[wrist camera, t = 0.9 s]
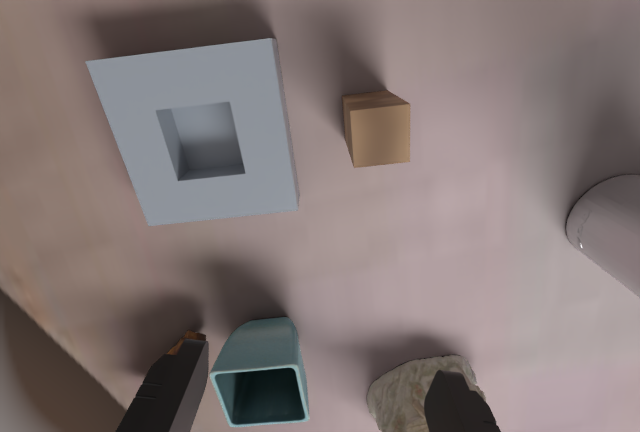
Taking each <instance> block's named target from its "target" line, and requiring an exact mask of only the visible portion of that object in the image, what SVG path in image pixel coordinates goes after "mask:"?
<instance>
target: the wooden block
mask: <svg viewBox="0 0 640 432" xmlns="http://www.w3.org/2000/svg"><path fill="white" fill-rule="evenodd" d="M342 103H343V116H344V129H345V141H346V144H347V147H348V150H349V154H350V157H351V160H352V163H353V166H354V168H357V167H367V166H376V165H385V164H394V163H403V162H410V104H409V103H408V102H406V101H404V100H403V99H401V98H399V97H398V96H396V95H394V94H393V93H391V92H389V91H388V90H386V91H378V92H369V93H361V94H352V95H344V96H342Z"/></svg>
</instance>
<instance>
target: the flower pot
mask: <svg viewBox="0 0 640 432" xmlns="http://www.w3.org/2000/svg"><path fill="white" fill-rule="evenodd" d="M209 376H210V379H211V381H212V384H213V386H214V389H215V391H216V394H217V397H218V399H219V401H220V404H221V407H222V409H223V412H224V415H225V417H226V420H227V423H228V424H229V426H231V427H245V426H246V427H247V426H255V425H268V424H282V423H296V422H305V421H308V420H309V406H308V393H307V381H306V374H305V369H304V365H303V360H302V356H301V351H300V346H299V340H298V335H297V330H296V327H295V325H294V323H293V322H292V321H291V320H290V319H289V318H288V317H280V318H272V319H261V320H251V321H249V322H247V323H245V324H243V325H241V326H240V327H238V328H237V329H236V330H235V331H234V332H233V333H232V334H231V335H230V336H229V338H228V339H227V341H226V342H225V344H224V346H223V348H222V350H221V352H220V354H219V356H218V358H217V360H216V362H215V364H214V366H213V368H212V370H211V372H210V374H209Z"/></svg>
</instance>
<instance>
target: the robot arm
mask: <svg viewBox="0 0 640 432" xmlns="http://www.w3.org/2000/svg"><path fill="white" fill-rule="evenodd" d="M566 231H567V237H568V239H569V241H570V243H571V244H572V245H573V246H574V247H575V248H576V249H577V250H579V251H580V252H581V253H583V254H584V255H585V256H587V257H588V258H589V259H590V260H592V261H593V262H594V263H596V264H597V265H598V266H599V267H601V268H602V269H603V270H604V271H606V272H607V273H608V274H610V275H611V276H612V277H614V278H615V279H616V280H617V281H619V282H620V283H621V284H623V285H624V286H625V287H627V288H628V289H629V290H630V291H632V292H633V293H634V294H636V295H637V296H638V297H639V298H640V175H621V176H617V177H613V178H610V179H608V180H606V181H603V182H601V183H599V184H598V185H596V186H594V187H593V188H591V189H590V190H589V191H588V192H586V193H585V194H584V195H583V196H582V197H581V198H580V199H579V200H578V202H577V203H576V204H575V205H574V207H573V209H572V210H571V212H570V215H569V217H568V220H567V226H566ZM208 350H209V344H208V341H200V340H192V339H185V340H184V341H183V343H182V345H181V347H180V349H179V351H178V353H177V355H171V354H164V355H163V356H162V357H161V358H160V359H159V360H158V361H157V362H156V363H154V364H153V365H152V366H151V368H150V370H149V372H148V373H147V375H146V377H145V379H144V381H143V384H142V385H141V386H140V388H139V390H138V392H137V394H136V397H135V398H134V399H133V401H132V403H131V404H130V406H129V408H128V410H127V412H126V414H125V416H124V417H123V419H122V421H121V423H120V425H119V426H118V428H117V430H116V432H190V430H191V427H192V424H193V421H194V419H195V416H196V413H197V410H198V407H199V404H200V402H201V399H202V396H203V393H204V390H205V387H206V383H207V378H208ZM424 413H425V418H426V422H427V425H428V429H429V432H501V431H500V429H499V427H498V426H497V425H496V420H495V418H494V416H493V414H492V412H491V410H490V407H489V406H488V404H487V403H486V402H485V401H484V399H483V398H482V397H481V396H480V395H479V393H478V392H477V391H473V390H470V389H469V387H468V385H467V382H466V380H465V378H464V376H463V374H462V373H460V372H453V371H445V370H438V371H437V372H436V374H435V376H434V378H433V381H432V383H431V385H430V387H429V390H428V392H427V394H426V397H425V401H424Z"/></svg>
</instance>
